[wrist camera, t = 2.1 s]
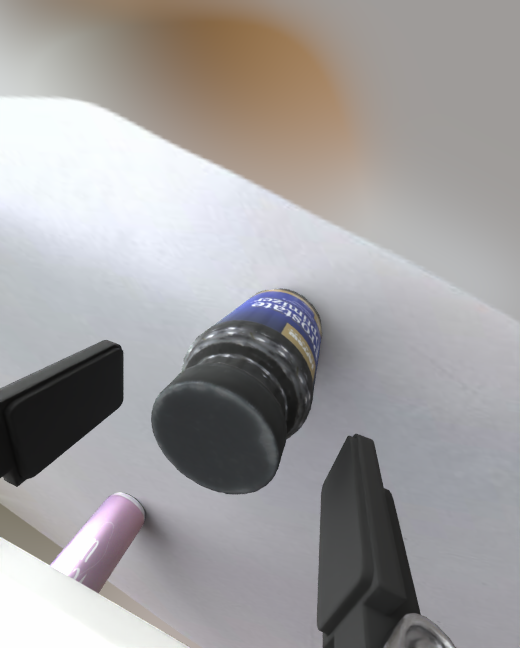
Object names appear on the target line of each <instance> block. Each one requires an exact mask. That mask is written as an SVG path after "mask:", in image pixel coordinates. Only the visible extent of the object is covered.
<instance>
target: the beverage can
mask: <svg viewBox="0 0 520 648" xmlns="http://www.w3.org/2000/svg"><path fill="white" fill-rule="evenodd" d="M144 520H145V511H144V509H143V507H142V506H141V504H140V503H139V502H138V501H137V500H136V499H135V498H133V497H132V496H130V495H128V494H125V493H121V492H118V493H115V494H113V495H111V496H109V497H108V498H107V499H106V500H105V501H104V502H103V504H102V505H101V506H100V507H99V508H98V509H97V511H96V512H95V513H94V514H93V515H92V516H91V518H90V519H89V520H88V521H87V522H86V523H85V525H84V526H83V527H82V528H81V529H80V530H79V532H78V533H77V534H76V535H75V536H74V537H73V539H72V540H71V541H70V542H69V543H68V544H67V545H66V547H65V548H64V549H63V550H62V551H61V553H60V554H59V555H58V556H57V557H56V558H55V559H54V561H53V562H52V563H51V564H50V566H52V567H54V568H55V569H57V570H59V571H60V572H62V573H64V574H66V575H67V576H69V577H71V578H73V579H74V580H76V581H78V582H79V583H81V584H83V585H85V586H86V587H88V588H90V589H91V590H93V591H95V592H97V593H99V592H100V590H101V588H102V587H103V585H104V584H105V582H106V581H107V579H108V578H109V576H110V575H111V573H112V572H113V570H114V569H115V567H116V566H117V564H118V563H119V561H120V560H121V558H122V556H123V555H124V553H125V552H126V550H127V549H128V547H129V546H130V544H131V543H132V541H133V540H134V538H135V537H136V535H137V534H138V532H139V531H140V529H141V528H142V526H143V524H144Z"/></svg>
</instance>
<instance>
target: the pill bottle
mask: <svg viewBox="0 0 520 648" xmlns="http://www.w3.org/2000/svg"><path fill="white" fill-rule="evenodd" d="M321 338H322V332H321V320H320V317H319V315H318V313H317V311H316V310H315V308H314V307H313V305H312V304H311V303H310V302H309V301H308V300H307V299H306V298H304V297H303V296H301V295H300V294H298V293H296V292H294V291H291V290H288V289H274V290H265V291H261V292H259V293H257V294H255V295H254V296H253V297H251V298H250V299H249V300H247V301H246V302H245V303H243V304H242V305H240V306H239V307H238V308H236V309H235V310H234V311H232V312H231V313H230V314H228V315H227V316H226V317H224V318H223V319H222V320H220V321H219V322H217V323H216V324H215V325H213V326H212V327H211V328H209V329H208V330H207V331H205V332H204V333H203V334H201V335H200V336H198V337H197V339H196V340H195V342H193V343H192V344H191V346H190V348H189V350H188V351H187V354H186V356H185V358H184V362H183V365H182V372H181V373H180V374H179V375H178V376H177V377H176V378H175V379H174V380H173V381H172V382H171V383H170V384H169V385H168V386H167V387H166V388H165V389H164V390H163V391H162V392H161V393H160V394H159V396H158V397H157V398H156V400H155V403H154V405H153V410H152V416H151V422H152V428H153V433H154V436H155V438H156V440H157V443H158V445H159V447H160V448H161V450H162V452H163V453H164V455H165V456H166V457H167V459H168V460H169V461H170V462H171V463H172V464H173V465H174V466H175V467H176V468H177V470H179V471H180V472H181V473H182V474H184V475H185V476H186V477H187V478H189V479H191V480H193V481H194V482H196V483H197V484H199V485H201V486H203V487H206V488H208V489H211V490H214V491H217V492H223V493H225V494H247V493H251V492H255V491H257V490H259V489H261V488H263V487H264V486H266V485H267V484H268V483H269V482H270V481H271V480H272V479H273V477H274V476H275V474H276V471H277V470H278V467H279V463H280V460H281V456H282V453H283V450H284V447H285V443H286V439H288V438H290V437H291V436H292V435H293V434H294V433H295V432H297V431H298V429H300V427H301V426H302V425H303V423H304V422H305V420H306V419H307V416H308V414H309V411H310V410H311V405H312V400H313V391H314V384H315V378H316V371H317V364H318V358H319V351H320V343H321Z"/></svg>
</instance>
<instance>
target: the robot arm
mask: <svg viewBox="0 0 520 648" xmlns="http://www.w3.org/2000/svg"><path fill="white" fill-rule="evenodd" d="M122 402H123V350H122V349H121V346H120V345H119V344H116V343H113V342H111V341H108V340H104V341H101V342H99V343H97V344H95V345H93V346H90V347H88V348H86V349H84V350H82V351H80V352H78V353H75V354H73V355H71V356H69V357H67V358H65V359H63V360H60V361H58V362H56V363H54V364H52V365H50V366H47V367H45V368H43V369H41V370H39V371H37V372H35V373H32V374H30V375H28V376H26V377H24V378H22V379H20V380H17V381H15V382H13V383H11V384H9V385H7V386H5V387H2V388H0V478H1V477H3V478H4V480H5V481H7V482H9V483H11V484H13V485H14V486H16V487H18V486H19V485H20V484H21V483H23V482H24V481H25V480H26V479H29V478H32V477H34V476H36V475H37V474H38V473H40V472H41V471H42V470H43V469H44V468H46V467H47V466H48V465H49V464H51V463H52V462H53V461H54V460H55V459H57V458H58V457H59V456H60V455H62V454H63V453H64V452H65V451H66V450H68V449H69V448H70V447H71V446H73V445H74V444H75V443H76V442H77V441H79V440H80V439H81V438H82V437H84V436H85V435H86V434H87V433H88V432H90V431H91V430H92V429H93V428H95V427H96V426H97V425H98V424H99V423H101V422H102V421H103V420H104V419H106V418H107V417H108V416H109V415H111V414H112V413H113V412H114V411H115V410H117V409H118V408H119V407H120V406H121V404H122ZM317 627H318V630H319V631H321V632H323V648H456V647H455V646H454V644H453V643H452V641H451V640H450V638H449V637H448V636H447V635H446V634H445V633H444V632H443V631H442V630H441V629H440V628H439V627H438V626H437V625H436V624H435V623H433V622H432V621H431V620H429V619H428V618H427V617H425V616H422V615H421V614H420V609H419V605H418V601H417V597H416V593H415V588H414V584H413V580H412V576H411V572H410V567H409V563H408V559H407V555H406V551H405V546H404V542H403V538H402V534H401V530H400V525H399V521H398V517H397V513H396V509H395V504H394V500H393V497H392V494H391V493H390V491H389V490H387V489H385V488H383V483H382V478H381V473H380V469H379V464H378V459H377V454H376V450H375V445H374V441H373V440H372V439H369V438H366V437H364V436H361V435H358V434H355V435H354V436H353V437H351V436H348V437H347V439H346V441H345V443H344V445H343V446H342V448H341V450H340V452H339V454H338V456H337V458H336V460H335V462H334V464H333V466H332V468H331V470H330V472H329V474H328V476H327V478H326V480H325V482H324V484H323V487H322V492H321V517H320V545H319V574H318V603H317ZM0 648H190V647H189V646H187V645H185V644H183V643H181V642H180V641H178V640H177V639H175V638H173V637H172V636H170V635H168V634H167V633H165V632H163V631H161V630H160V629H158V628H156V627H154V626H153V625H151V624H150V623H148V622H146V621H144V620H143V619H141V618H139V617H138V616H136V615H134V614H132V613H131V612H129V611H127V610H126V609H124V608H122V607H121V606H119V605H117V604H116V603H114V602H112V601H110V600H108V599H107V598H105V597H103V596H102V595H100V594H98V593H97V592H95V591H93V590H91V589H90V588H88V587H86V586H85V585H83V584H81V583H79V582H78V581H76V580H74V579H73V578H71V577H69V576H67V575H66V574H64V573H62V572H60V571H59V570H57V569H55V568H54V567H52V566H50V565H48V564H47V563H45V562H43V561H41V560H40V559H38V558H36V557H35V556H33V555H31V554H29V553H27V552H26V551H24V550H22V549H21V548H19V547H17V546H15V545H14V544H12V543H10V542H8V541H7V540H5V539H3V538H2V537H0Z"/></svg>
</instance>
